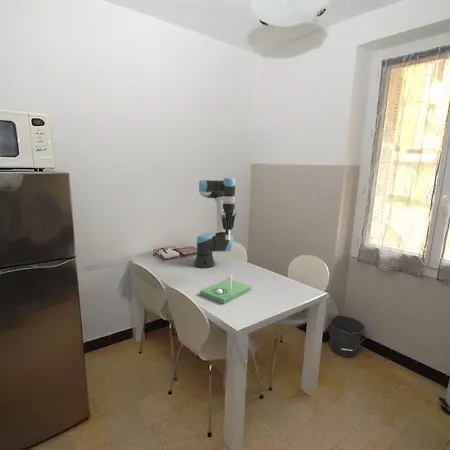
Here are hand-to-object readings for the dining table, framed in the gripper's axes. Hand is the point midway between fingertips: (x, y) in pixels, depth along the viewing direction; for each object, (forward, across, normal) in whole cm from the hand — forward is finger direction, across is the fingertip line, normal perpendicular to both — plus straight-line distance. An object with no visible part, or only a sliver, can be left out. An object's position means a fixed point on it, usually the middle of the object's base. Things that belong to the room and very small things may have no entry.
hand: (227, 239), depth 190 cm
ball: (+24, -24, -14) cm, 37 cm away
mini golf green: (+26, -18, -14) cm, 35 cm away
